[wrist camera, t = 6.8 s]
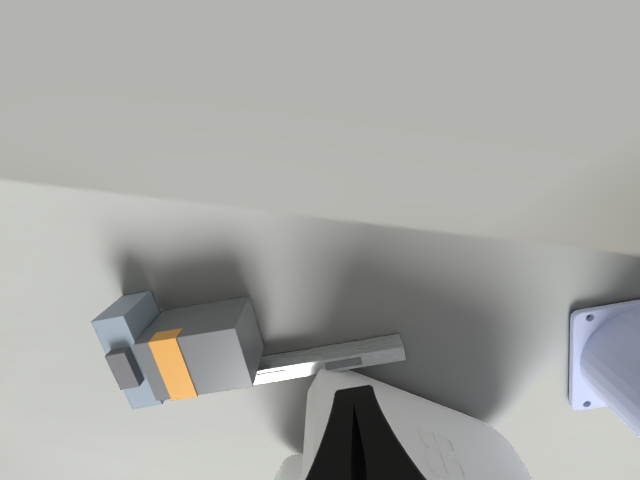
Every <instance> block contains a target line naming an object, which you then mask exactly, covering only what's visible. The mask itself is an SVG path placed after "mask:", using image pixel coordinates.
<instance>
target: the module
mask: <svg viewBox="0 0 640 480" xmlns="http://www.w3.org/2000/svg"><path fill="white" fill-rule="evenodd" d="M133 347H134V350H135V352H136V354H137V357H138V359H139V361H140V364H141V366H142V368H143V371H144V373H145V376H146V378H147V380H148V383H149V385H150V387H151V390H152V392H153V394H154V397H155V399H156V401H160V400H167V399H171V400H172V401H173V400H180V399H186V398H193V397H197V396H198V395H201V394H207V393H214V392H221V391H227V390H234V389H241V388H248V387H253V385H254V381H255V378H256V374H257V371H258V367H259V364H260V360H261V357H262V353H263V350H264V344H263V340H262V337H261V333H260V330H259V326H258V323H257V319H256V316H255V312H254V309H253V305H252V302H251V298H250V296H245V297H239V298H233V299H227V300H221V301H215V302H210V303H204V304H198V305H192V306H186V307H180V308H174V309H168V310H163V311H162V313H161V314H160V315H159V316H158V317H157V318H156V319H155V320H154V322H153V323H152V324H151V325H150V326H149V327H148V328H147V329H146V330H145V332H144V333H143V334H142V335H141V336H140V337H139V338H138V339H137V341H136V342H135V343H134V344H133Z"/></svg>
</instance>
